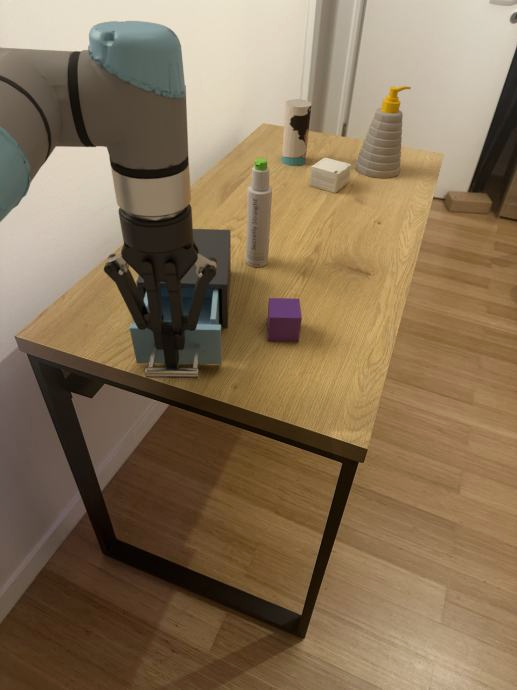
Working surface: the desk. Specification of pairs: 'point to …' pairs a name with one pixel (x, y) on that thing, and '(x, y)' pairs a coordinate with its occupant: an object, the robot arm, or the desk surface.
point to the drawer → (198, 343)
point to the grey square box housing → (220, 249)
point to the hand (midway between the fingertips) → (172, 363)
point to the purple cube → (284, 319)
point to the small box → (329, 174)
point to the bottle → (258, 215)
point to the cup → (296, 131)
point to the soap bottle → (383, 140)
